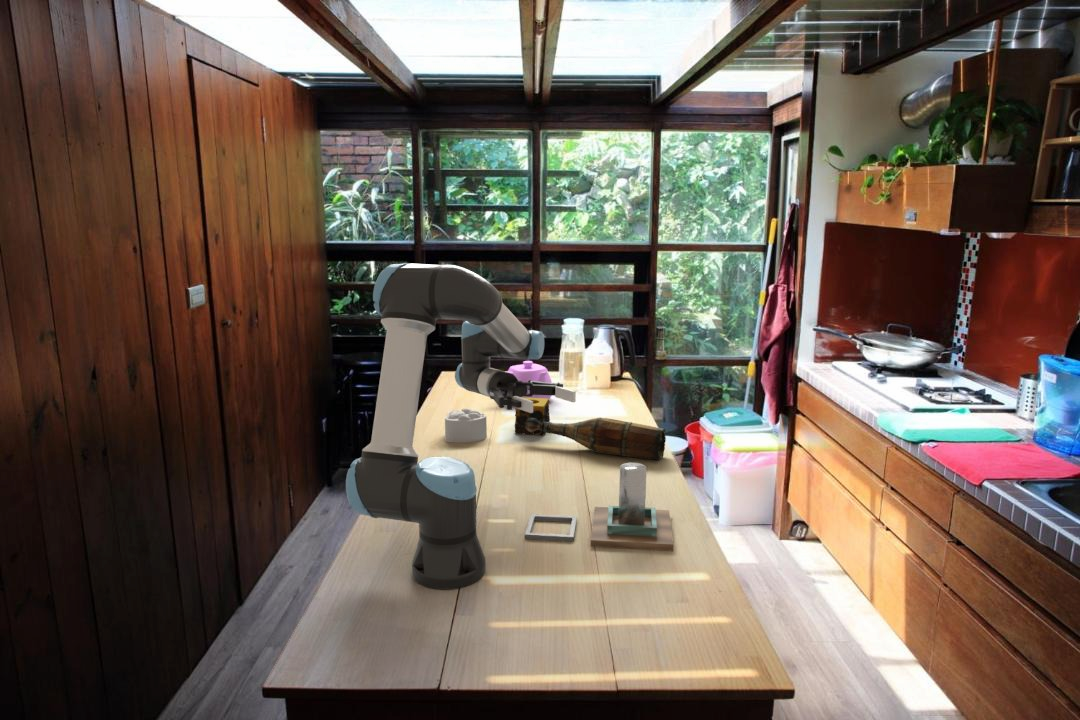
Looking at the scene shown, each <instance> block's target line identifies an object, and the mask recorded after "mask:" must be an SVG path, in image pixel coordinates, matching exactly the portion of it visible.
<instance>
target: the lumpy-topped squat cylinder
mask: <svg viewBox="0 0 1080 720" xmlns="http://www.w3.org/2000/svg"><path fill="white" fill-rule="evenodd" d="M487 431H488V427H487V415H486V414H484V413H482V412H480V411H479V410H475V409H474V410H472V409H470V408H468V407H465V408H463V409H461V410H452V411H450V412H448V413H447V414H446V417H445V418H444V432H445V434H444V435H445V438H444V440H445V442H449V443H475V442H480V441H481V442H482V441H484V440H486V439H487V437H488V436H487V435H488V434H487V433H488V432H487Z"/></svg>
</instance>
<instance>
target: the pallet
mask: <svg viewBox="0 0 1080 720" xmlns="http://www.w3.org/2000/svg"><path fill="white" fill-rule="evenodd" d="M593 510H594V511H593V518H592V526H591V535H590V547H594V548H595V547H598V548H601V547H602V548H616V549H633V550H649V551H651V550H653V551H654V550H655V551H668V552H670V551H672V552H673V551H674V539H673V532H672V523H671V514H670V510H669V509H656V507H648V506H647V507H646V506H645V525H644V526H643V525H624V524H618V521H619V505H608V506H607V507H606V506H594V509H593Z"/></svg>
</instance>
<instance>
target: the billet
mask: <svg viewBox="0 0 1080 720" xmlns="http://www.w3.org/2000/svg"><path fill="white" fill-rule="evenodd" d="M647 470H648V469H647V466H646V465H644V464H643V463H639V462H625V463H622V464H620V466H619V489H618V490H619V491H618V493H619V494H618V506H619V521H618V524H624V525H643V526H644V525H645V507H646V494H647V491H646V490H647V472H648V471H647Z"/></svg>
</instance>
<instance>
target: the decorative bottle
mask: <svg viewBox="0 0 1080 720" xmlns="http://www.w3.org/2000/svg"><path fill="white" fill-rule="evenodd" d="M524 426H525V428H526V430H527V431H528V432H533V431H536V430H541V431H544V432H546V434H553V435H558V436H562V437H565V438H567V439H570V440H572V441H574V442H576V443H578V444H579V445H582V447H585V448H586V449H588V450H591V451H592V452H594V453H599V454H606V455H612V456H613V455H614V456H620V457H621V456H624V457H630V458H638V459H639V458H640V459H647V460H648V459H649V460H650V459H651V460H656V461H657V460H659V461H660V460H662V459H663V458H664V454H665V453H664V452H665V449H666V448H665V447H666V440H667V439H666V428H662V427H661V428H660V427H657V426H651V425H647V424H641V423H636V422H631V421H625V420H619V419H612V418H608V417H596V418H590V419H586V420H582V421H578V422H572V423H571V422H569V423H563V422H561V423H560V422H553V421H550V422H542V423H540V422H539V421H538V420H537V419H536V418H528V419H525V422H524Z"/></svg>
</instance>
